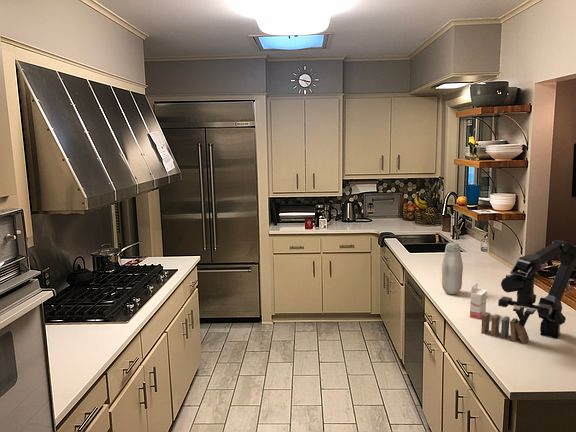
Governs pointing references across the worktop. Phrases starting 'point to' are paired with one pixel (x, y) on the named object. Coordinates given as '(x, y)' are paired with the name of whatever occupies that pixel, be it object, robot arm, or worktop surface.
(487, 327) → the domino
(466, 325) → the worktop surface
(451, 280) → the gray bottle
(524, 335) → the domino
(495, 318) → the domino
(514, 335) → the domino
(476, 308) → the ink cartridge box
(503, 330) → the gray domino
